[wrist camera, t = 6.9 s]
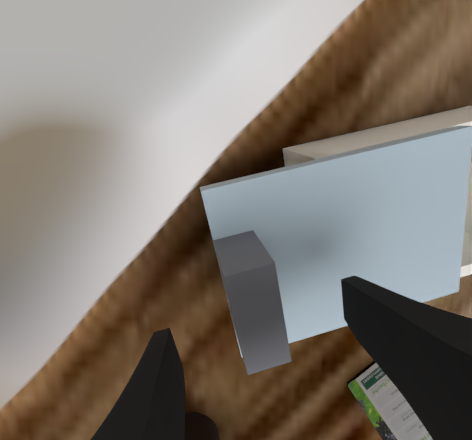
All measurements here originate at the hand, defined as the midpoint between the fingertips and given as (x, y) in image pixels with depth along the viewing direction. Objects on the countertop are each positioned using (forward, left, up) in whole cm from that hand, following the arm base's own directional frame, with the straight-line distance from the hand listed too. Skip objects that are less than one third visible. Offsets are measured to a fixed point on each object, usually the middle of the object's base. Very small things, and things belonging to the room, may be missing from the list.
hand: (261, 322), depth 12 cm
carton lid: (-6, 0, -4) cm, 7 cm away
